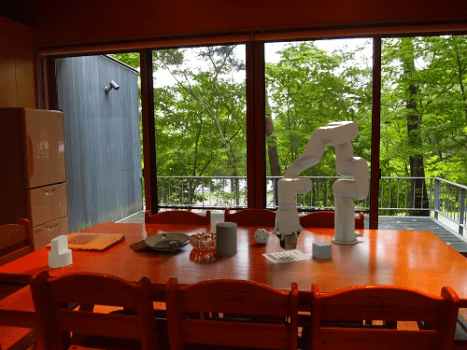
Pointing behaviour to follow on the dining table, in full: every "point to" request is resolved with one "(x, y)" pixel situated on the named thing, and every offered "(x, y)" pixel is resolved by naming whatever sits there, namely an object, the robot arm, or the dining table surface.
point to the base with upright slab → (59, 252)
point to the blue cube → (322, 250)
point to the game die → (261, 236)
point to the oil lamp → (167, 241)
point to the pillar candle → (226, 239)
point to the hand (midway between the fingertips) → (288, 246)
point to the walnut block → (290, 241)
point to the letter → (286, 256)
